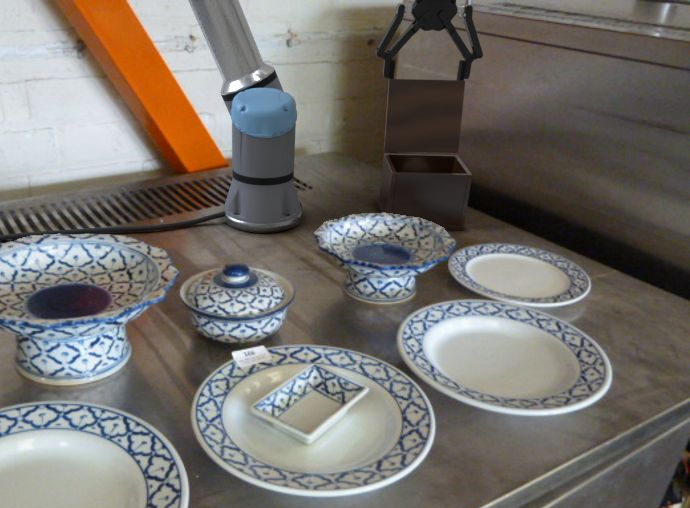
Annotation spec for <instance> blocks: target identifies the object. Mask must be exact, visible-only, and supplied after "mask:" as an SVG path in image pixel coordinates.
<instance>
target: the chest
mask: <svg viewBox="0 0 690 508" xmlns="http://www.w3.org/2000/svg"><path fill="white" fill-rule="evenodd" d="M381 167H382V168H381V176H380V177H381V178H380V186H379V194H378V195H379V196H378V204H377V205H378V209H379V212H380V213H381V212H386V213H393V214H400V215H406V216H414V217H420V218H423V219H426V220H428V221H432V222H434V223H436V224H438V225H440V226H442V227H444V228H445V229H446V230H445V231H463V230H464V225H465V220H466V215H467V210H468V204H469V198H470V192H471V186H472V181H473V174H472V172H471V171H470V170H469V168H468V167H467V165H466V163H464V162H463V160H462V159H461V158H460V157H459V155H458V154H430V153H429V154H425V153H389V152H388V153H387V152H386V153H383V158H382V166H381Z"/></svg>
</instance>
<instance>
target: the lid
mask: <svg viewBox="0 0 690 508" xmlns="http://www.w3.org/2000/svg"><path fill="white" fill-rule="evenodd" d="M465 87H466V79H464V80H457V79H413V78H394V79H389V83H388V96H387V99H386V115H385V127H384V128H385V129H384V143H383V151H384V152H403V153H405V152H410V153H443V154H444V153H447V154H448V153H451V154H453V153H454V154H458V153H459V152H460V151H459V149H460V140H461V129H462V120H463V110H464V101H465V100H464V98H465V89H466V88H465Z"/></svg>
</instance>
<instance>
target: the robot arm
mask: <svg viewBox="0 0 690 508" xmlns="http://www.w3.org/2000/svg"><path fill="white" fill-rule="evenodd" d="M187 2H188V3H189V6H190V8H191V11H192V13H193V15H194V17H195V20H196V22H197V24H198V26H199V29H200V31H201V33H202V36H203V38H204V40H205V43H206V45H207V47H208V49H209V51H210V54H211V56H212V58H213V61H214V64H215V65H216V68H217V70H218V72H219V74H220V77H221V79H222V85H221V88H220V91H219V93H220V96H221V98H222V100H223V102H224V105H225V107H226V110H227V111H228V114H229V116H230V119H231V160H232V161H231V164H232V165H231V166H232V167H231V171H232V178H231V179H232V180H231V183H230V186H229V190H228V193H227V196H226V199H225V201H224V205H223V208H222V210H223V211H221V212H217V213H212V214H209V215H206V216H202V217H199V218H195V219H190V220H189V219H188V220H184V221H179V222H171V223H164V224H152V225H134V226H133V225H132V226H131V225H129V226H110V227H109V226H108V227H88V228H72V229H71V228H69V229H53V230H43V231H42V230H41V231H28V232H19V233H18V232H17V233H8V234H6V233H5V234H0V241H8V240H19V239H18V238H20V239H23V238H22V237H26V236H30V235H43V234H58V233H63V234H72V235H86V234H85V233H90V234H109V233H110V234H111V233H133V232H150V231H162V230H170V229H178V228H183V227H189V226H194V225H198V224H201V223H205V222H209V221H213V220H216V219H220V218H223V221H224V222H225V224H227V226H230V227H231V228H234V229H236V230H240V231H243V232H249V233H256V234H257V233H258V234H266V233H267V234H269V233H271V234H272V233H278V232H283V231H288V230H291V229H293V228H295V227H297V226H298V225H299V224H300V223H301V221H302V219H303V218H302V217H303V216H302V214H303V206H302V203H301V201H300V199H299V194H298V191H297V188H296V184H295V177H294V176H295V153H296V124H297V121H298V110H297V103H296V100H295V97H293V96H292V94H290V93H289V92H287V91H284V88H283V86H282V84H281V81H280V79H279V76H278V74H277V71H276V68H275V67H274V66H273V65H270V64H268V63H266V62H265V61H264V60H263V57H262V55H261V52H260V50H259V48H258V45H257V42H256V40H255V37H254V35H253V32H252V30H251V28H250V25H249V23H248V20H247V18H246V15H245V13H244V10H243V8H242V5H241V3H240V1H239V0H187ZM473 9H474V8H473V6H472V5H471V4H468V3H465V4H464V5H458V6H457V0H413V4H412V5H408V4H404V3H401V2H399V3H397V5H396V9H395V13H394V16H393V19H392V20H391V22H390V24H389V26H388V28H387V29H386V31H385V33H384V34H383V37H382V38H381V39H380V42H379V43H378V45H377V47H376V48H375V50H374V53H375V55H376V57H378V58H381V59H382V60H383V66H382V76H383V78H384V79H386V80H387V82H386V91H385V92H386V93H385V94H386V96H387V97H388V83H389V79H395V68H396V60H395V59H394V57H395V56H396V55H397V54H398V53H399V52H400V50H401V49H402V48H403V47H404V46H405V45H406V44H407V43H408V42H409V41H410V40H411V39H412V37H413V36H414V35H416V33H418V32H419V30H420V29H421V30H422V31H424V32H429V31H435V32H441V31H443V30H445V32H446V33H447V34H448V36H449V37H450V39H451V40H452V42H453V44H454V45H455V47H456V48H457V50H458V51H459V53H460V55H461V56H462V58H463V59H459V61H458V68H457V73H456V80H469V79H470V76H471V71H472V70H471V69H472V64H473V62H474V61H476V60H478V59H482V58H483V56H484V53H483V49H482V46H481V42H480V40H479V39H480V38H479V36H478V33H477V29H476V26H475V23H474V20H473V13H474V12H473V11H474V10H473ZM409 13H410V14H411V15H412V17H413V18H414V20H413V21H412V22H411V23H410V24H409V25H408V27H407V28H406V30H405V31H404V32H403V33H402V34H401V35H399V37H398V38H397V39H396V40H395V41H394V42H393V44H392V45H391V46H390V47H389V48H388V46H389V45H390V43H391V41H392V39H393V38H394V36H395V34H396V32H397V31H398V29H399V27H400V25H401V23H402V22H403V20H404V18H406V17H407V16H408V15H409ZM457 14H458V15H459V17H460V18H461V19H462V21H463V24H464V28H465V31H466V34H467V38H468V41H469V44H470V47H471V50H472V51H470V50H469V49H468V47H467V46H466V43H465V42H464V40H463V39H462V37H461V36H460V34H459V33H458V31H457V30H456V27H455V26H454V24H453V23H452V20H454V18H455V17H456V15H457ZM387 48H388V49H387Z"/></svg>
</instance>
